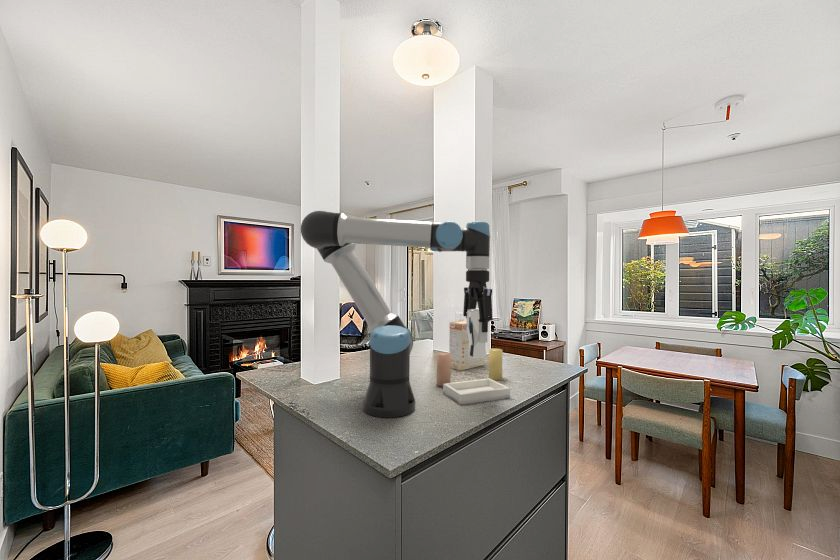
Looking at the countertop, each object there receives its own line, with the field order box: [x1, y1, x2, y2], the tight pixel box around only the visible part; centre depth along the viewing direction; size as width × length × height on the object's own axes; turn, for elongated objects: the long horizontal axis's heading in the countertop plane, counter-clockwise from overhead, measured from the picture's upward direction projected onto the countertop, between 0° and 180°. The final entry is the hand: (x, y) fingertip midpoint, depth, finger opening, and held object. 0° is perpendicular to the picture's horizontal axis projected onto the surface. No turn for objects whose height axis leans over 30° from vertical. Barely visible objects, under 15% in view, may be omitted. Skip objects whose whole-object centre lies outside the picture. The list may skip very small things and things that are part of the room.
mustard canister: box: [488, 347, 504, 381], centre depth 141 cm, size 5×5×11 cm
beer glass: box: [466, 308, 487, 358], centre depth 121 cm, size 7×7×15 cm
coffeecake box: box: [448, 319, 485, 371], centre depth 159 cm, size 15×7×20 cm, turn 130°
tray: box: [442, 377, 511, 405], centre depth 122 cm, size 18×12×3 cm, turn 113°
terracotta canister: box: [435, 351, 452, 388], centre depth 133 cm, size 5×5×11 cm
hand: (476, 340), depth 121 cm, fingers closed on beer glass, 7 cm apart
